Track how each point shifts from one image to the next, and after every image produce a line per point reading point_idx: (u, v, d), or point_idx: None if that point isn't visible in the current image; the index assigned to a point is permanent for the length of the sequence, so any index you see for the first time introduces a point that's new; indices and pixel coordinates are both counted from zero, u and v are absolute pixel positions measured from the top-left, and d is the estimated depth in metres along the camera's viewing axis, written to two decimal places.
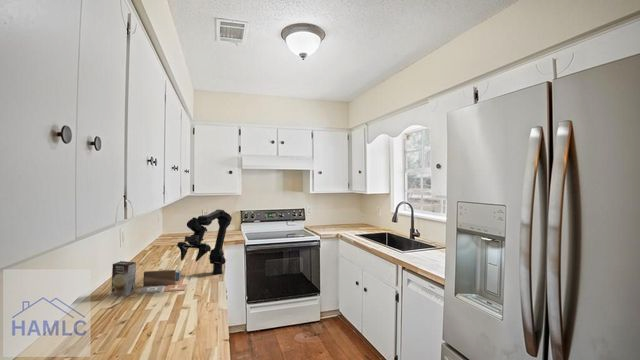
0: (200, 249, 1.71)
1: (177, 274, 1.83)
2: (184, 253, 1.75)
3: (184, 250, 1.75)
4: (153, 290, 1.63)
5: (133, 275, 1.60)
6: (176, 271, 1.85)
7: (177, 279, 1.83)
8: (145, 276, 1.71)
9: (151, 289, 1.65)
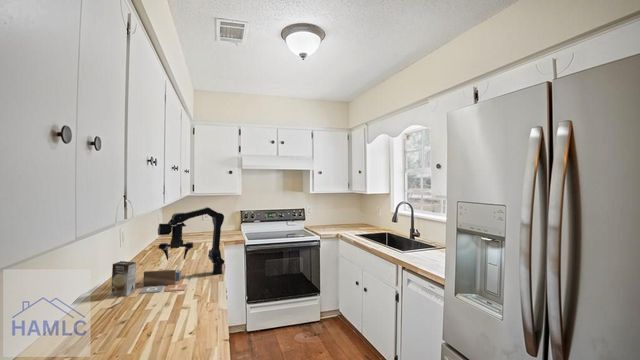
0: (187, 249, 1.85)
1: (177, 274, 1.83)
2: (167, 252, 1.84)
3: (167, 250, 1.83)
4: (153, 290, 1.63)
5: (133, 275, 1.60)
6: (176, 271, 1.85)
7: (177, 279, 1.83)
8: (145, 276, 1.71)
9: (151, 289, 1.65)
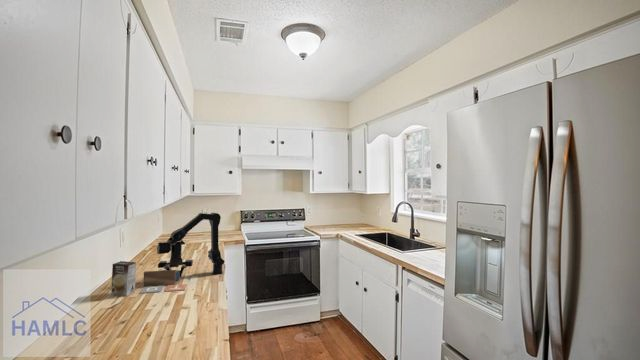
0: (183, 268, 1.84)
1: (177, 274, 1.83)
2: None
3: (170, 268, 1.84)
4: (153, 290, 1.63)
5: (133, 275, 1.60)
6: (176, 271, 1.85)
7: (177, 279, 1.83)
8: (145, 276, 1.71)
9: (151, 289, 1.65)
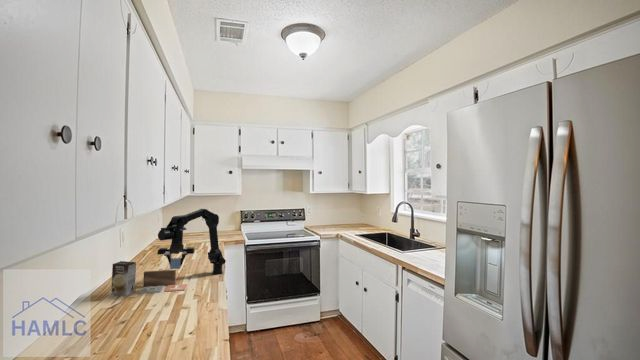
0: (184, 255, 1.72)
1: (178, 261, 1.71)
2: (171, 258, 1.73)
3: (170, 255, 1.72)
4: (153, 290, 1.63)
5: (133, 275, 1.60)
6: (177, 258, 1.74)
7: (178, 267, 1.71)
8: (145, 276, 1.71)
9: (151, 289, 1.65)
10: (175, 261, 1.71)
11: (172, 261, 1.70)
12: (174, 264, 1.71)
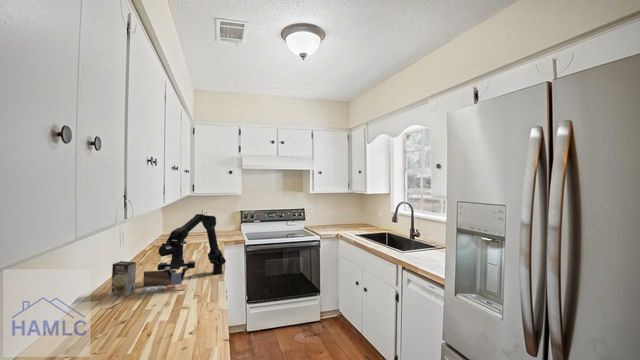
0: (184, 270, 1.69)
1: (178, 277, 1.68)
2: (171, 273, 1.69)
3: (170, 270, 1.69)
4: (153, 290, 1.63)
5: (133, 275, 1.60)
6: (177, 273, 1.70)
7: (178, 282, 1.68)
8: (145, 276, 1.71)
9: (151, 289, 1.65)
10: (176, 276, 1.67)
11: (173, 276, 1.67)
12: (175, 279, 1.67)
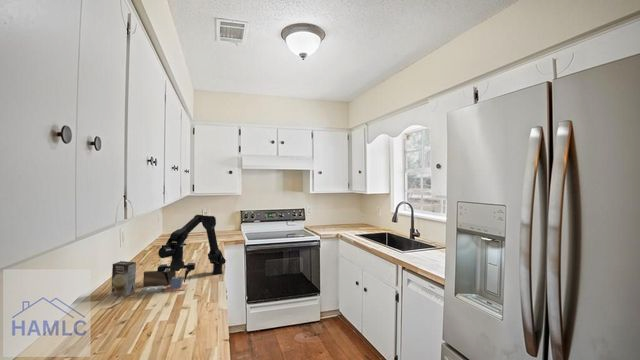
0: (187, 272, 1.69)
1: (178, 281, 1.67)
2: (168, 275, 1.69)
3: (167, 272, 1.68)
4: (153, 290, 1.63)
5: (133, 275, 1.60)
6: (177, 277, 1.70)
7: (178, 286, 1.67)
8: (145, 276, 1.71)
9: (151, 289, 1.65)
10: (176, 281, 1.67)
11: (172, 281, 1.67)
12: (175, 284, 1.67)
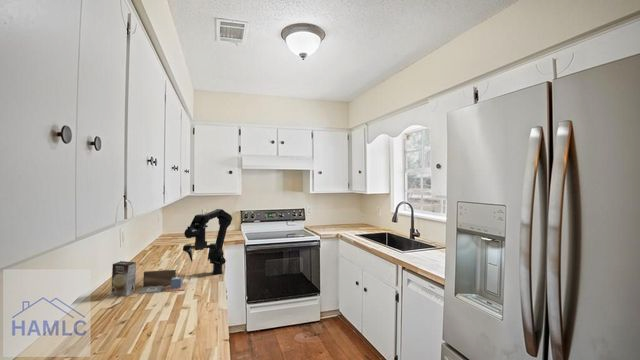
0: (210, 251, 1.84)
1: (178, 281, 1.67)
2: (191, 254, 1.84)
3: (191, 252, 1.83)
4: (153, 290, 1.63)
5: (133, 275, 1.60)
6: (177, 277, 1.70)
7: (178, 286, 1.67)
8: (145, 276, 1.71)
9: (151, 289, 1.65)
10: (176, 281, 1.67)
11: (172, 281, 1.67)
12: (175, 284, 1.67)
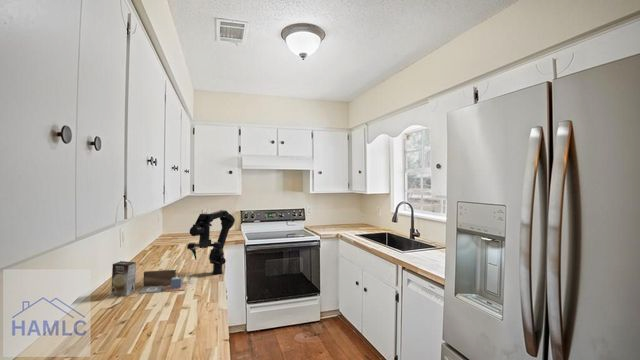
0: (214, 249, 1.87)
1: (178, 281, 1.67)
2: (195, 252, 1.87)
3: (195, 250, 1.86)
4: (153, 290, 1.63)
5: (133, 275, 1.60)
6: (177, 277, 1.70)
7: (178, 286, 1.67)
8: (145, 276, 1.71)
9: (151, 289, 1.65)
10: (176, 281, 1.67)
11: (172, 281, 1.67)
12: (175, 284, 1.67)
